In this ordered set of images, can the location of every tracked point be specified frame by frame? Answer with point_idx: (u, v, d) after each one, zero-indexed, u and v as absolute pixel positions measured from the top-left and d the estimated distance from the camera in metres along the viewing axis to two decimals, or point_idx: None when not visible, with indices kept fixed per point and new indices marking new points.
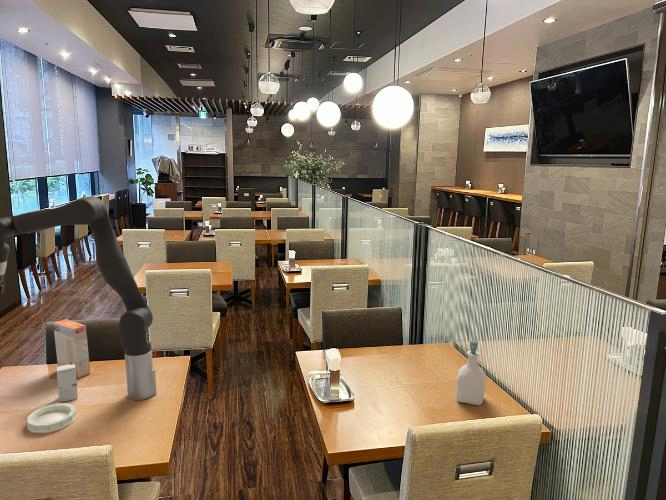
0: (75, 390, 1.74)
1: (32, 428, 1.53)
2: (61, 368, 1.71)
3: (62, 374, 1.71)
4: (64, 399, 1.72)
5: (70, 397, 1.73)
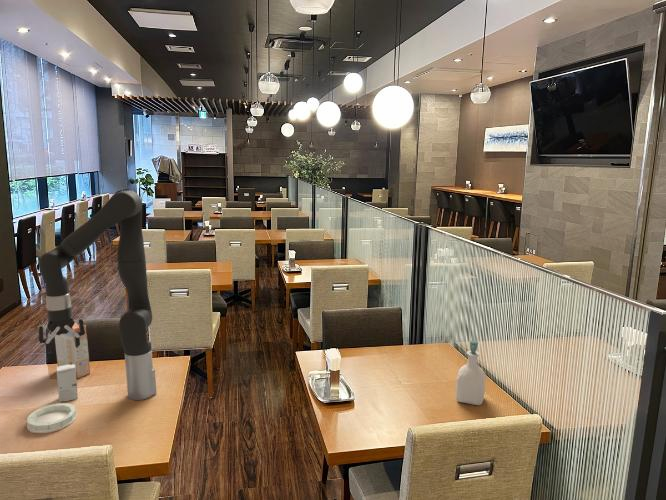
0: (75, 390, 1.74)
1: (32, 428, 1.53)
2: (61, 368, 1.71)
3: (62, 374, 1.71)
4: (64, 399, 1.72)
5: (70, 397, 1.73)
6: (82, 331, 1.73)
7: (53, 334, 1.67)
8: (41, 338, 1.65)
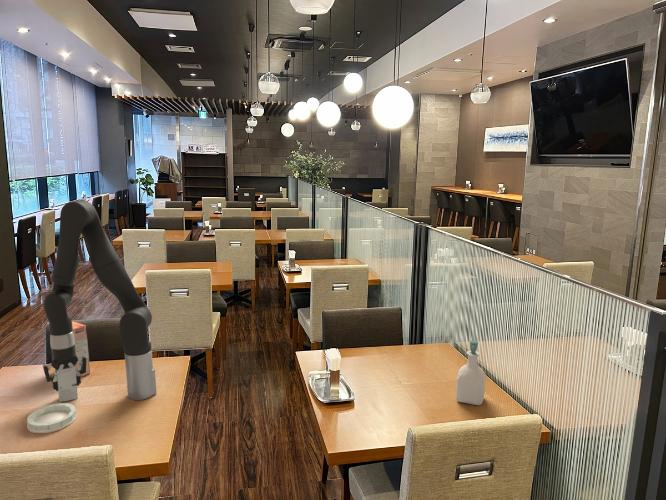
0: (75, 390, 1.74)
1: (32, 428, 1.53)
2: None
3: (62, 374, 1.70)
4: (64, 399, 1.72)
5: (70, 397, 1.73)
6: (83, 369, 1.75)
7: None
8: (48, 377, 1.68)
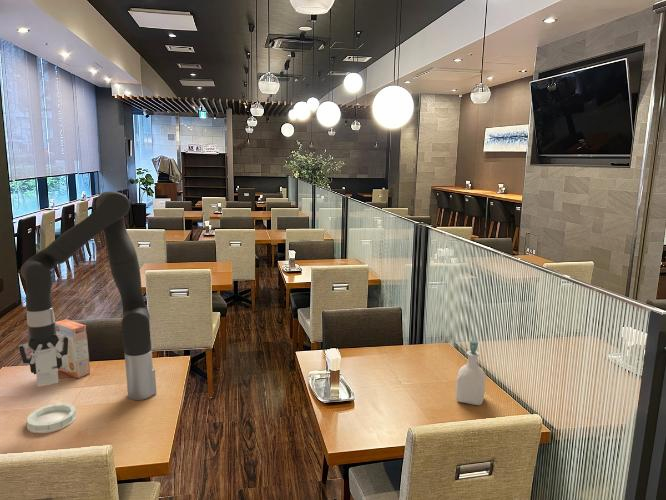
0: (55, 373, 1.56)
1: (32, 428, 1.53)
2: None
3: (40, 355, 1.53)
4: (42, 384, 1.54)
5: (50, 381, 1.55)
6: (65, 350, 1.57)
7: (37, 353, 1.52)
8: (24, 358, 1.51)
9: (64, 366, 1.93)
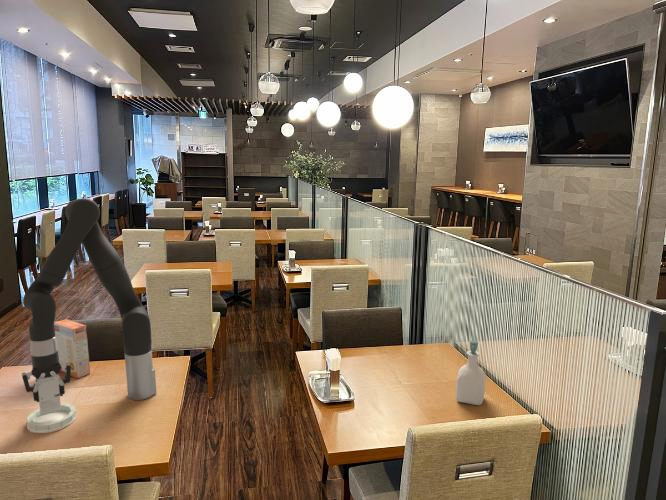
0: (58, 401, 1.58)
1: (32, 428, 1.53)
2: None
3: (43, 383, 1.55)
4: (45, 411, 1.56)
5: (53, 409, 1.57)
6: (67, 378, 1.59)
7: (40, 382, 1.54)
8: (27, 387, 1.53)
9: None
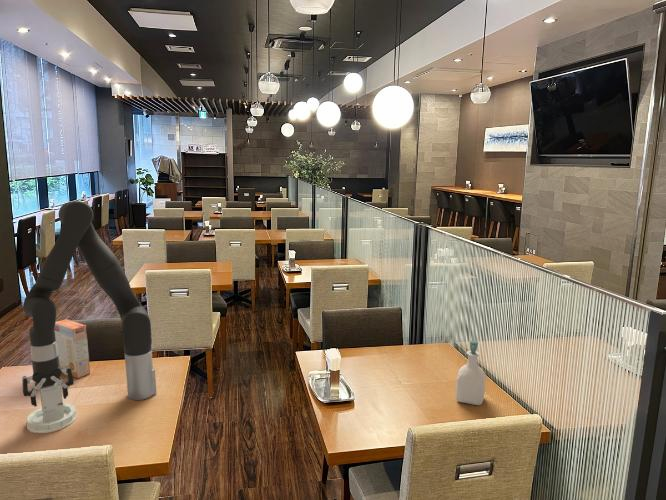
0: (61, 410, 1.59)
1: (32, 428, 1.53)
2: None
3: (46, 392, 1.56)
4: (48, 420, 1.57)
5: (56, 417, 1.58)
6: (70, 381, 1.60)
7: (39, 387, 1.54)
8: (25, 391, 1.52)
9: (64, 366, 1.93)
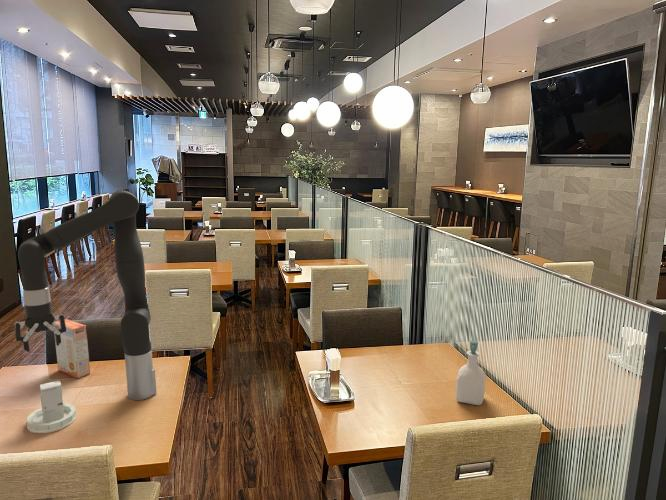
0: (61, 410, 1.59)
1: (32, 428, 1.53)
2: (45, 386, 1.57)
3: (46, 392, 1.56)
4: (48, 420, 1.57)
5: (56, 417, 1.58)
6: (63, 328, 1.61)
7: (32, 332, 1.55)
8: (18, 336, 1.53)
9: (64, 366, 1.93)
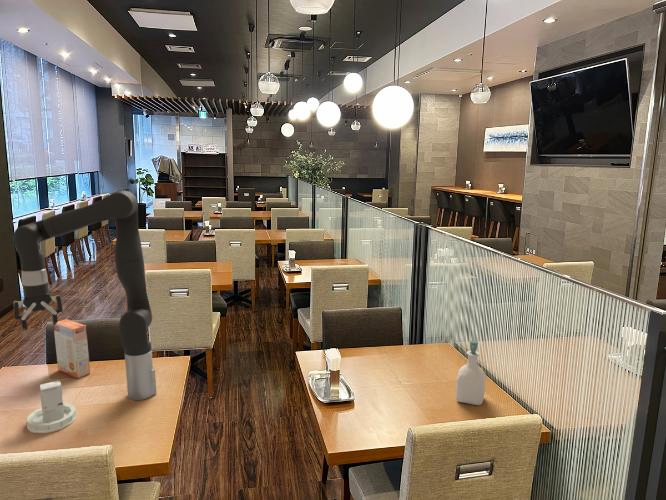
0: (61, 410, 1.59)
1: (32, 428, 1.53)
2: (45, 386, 1.57)
3: (46, 392, 1.56)
4: (48, 420, 1.57)
5: (56, 417, 1.58)
6: (59, 308, 1.69)
7: (29, 311, 1.63)
8: (16, 314, 1.61)
9: (64, 366, 1.93)
